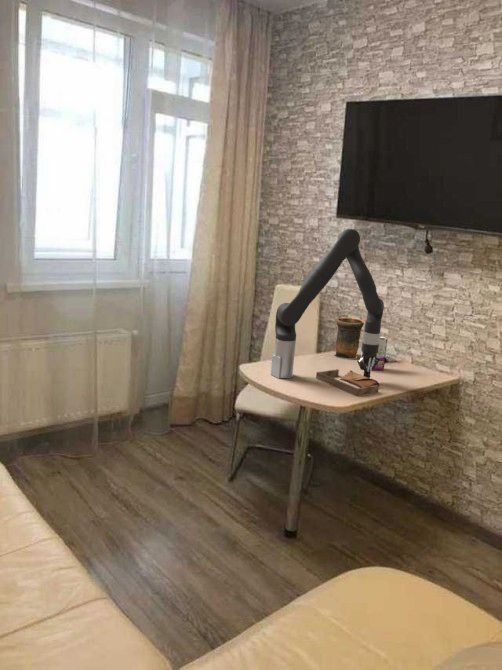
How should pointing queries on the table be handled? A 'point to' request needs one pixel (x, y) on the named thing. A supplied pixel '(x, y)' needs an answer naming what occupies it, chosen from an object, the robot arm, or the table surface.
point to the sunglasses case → (359, 380)
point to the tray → (326, 378)
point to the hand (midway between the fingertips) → (366, 378)
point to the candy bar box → (381, 353)
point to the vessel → (348, 337)
